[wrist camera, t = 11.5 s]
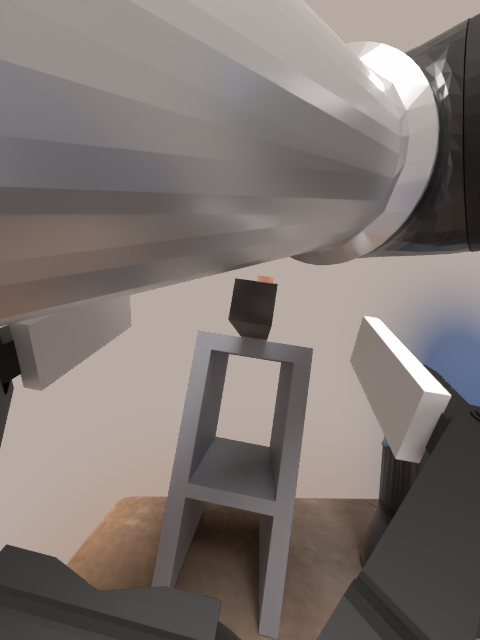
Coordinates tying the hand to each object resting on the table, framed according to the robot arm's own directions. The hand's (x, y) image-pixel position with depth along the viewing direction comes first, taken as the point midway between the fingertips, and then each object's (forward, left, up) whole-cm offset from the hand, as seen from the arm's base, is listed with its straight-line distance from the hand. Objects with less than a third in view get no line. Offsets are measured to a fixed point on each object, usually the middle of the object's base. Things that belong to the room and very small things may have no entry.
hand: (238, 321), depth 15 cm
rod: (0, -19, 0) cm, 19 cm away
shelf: (0, -27, -30) cm, 40 cm away
